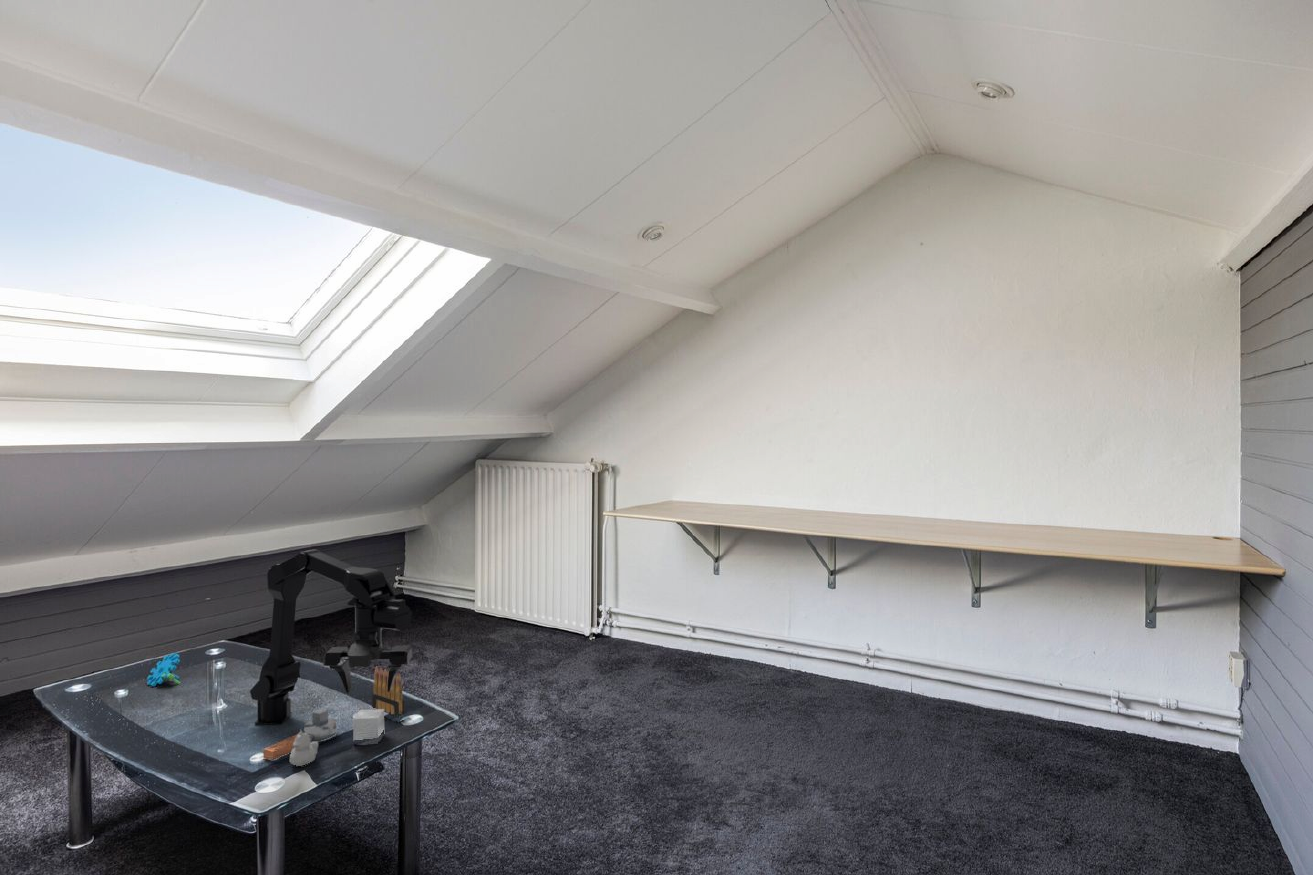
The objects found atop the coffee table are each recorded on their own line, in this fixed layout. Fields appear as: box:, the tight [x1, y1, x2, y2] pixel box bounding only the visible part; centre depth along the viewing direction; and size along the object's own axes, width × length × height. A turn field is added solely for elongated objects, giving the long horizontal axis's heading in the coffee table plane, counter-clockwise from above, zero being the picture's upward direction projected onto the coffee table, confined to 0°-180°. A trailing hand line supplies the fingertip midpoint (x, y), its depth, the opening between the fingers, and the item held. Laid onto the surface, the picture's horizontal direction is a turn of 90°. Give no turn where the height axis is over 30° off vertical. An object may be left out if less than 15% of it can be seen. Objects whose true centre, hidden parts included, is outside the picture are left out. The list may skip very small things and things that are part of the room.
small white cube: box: [352, 708, 385, 741], centre depth 180 cm, size 6×6×6 cm
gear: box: [146, 652, 181, 687], centre depth 219 cm, size 11×6×10 cm
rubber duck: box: [289, 728, 319, 767], centre depth 168 cm, size 5×7×8 cm
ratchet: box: [262, 708, 337, 760], centre depth 178 cm, size 18×7×6 cm, turn 155°
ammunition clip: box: [371, 665, 405, 715], centre depth 194 cm, size 11×2×12 cm, turn 55°
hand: (368, 691), depth 180 cm, fingers open, 9 cm apart
